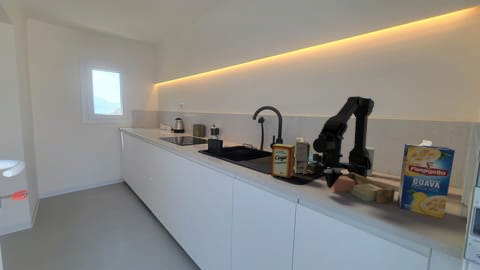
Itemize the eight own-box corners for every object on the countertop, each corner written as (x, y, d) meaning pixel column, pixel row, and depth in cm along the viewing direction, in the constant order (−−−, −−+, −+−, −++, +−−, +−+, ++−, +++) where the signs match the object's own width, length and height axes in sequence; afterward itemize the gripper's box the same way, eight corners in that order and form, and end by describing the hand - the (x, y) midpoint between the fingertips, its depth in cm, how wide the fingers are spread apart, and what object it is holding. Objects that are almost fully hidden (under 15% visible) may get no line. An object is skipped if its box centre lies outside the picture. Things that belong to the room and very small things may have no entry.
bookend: (345, 181, 94) (346, 171, 93) (352, 184, 89) (354, 174, 89) (330, 181, 92) (331, 171, 92) (337, 185, 88) (338, 174, 87)
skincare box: (371, 174, 107) (375, 147, 105) (372, 176, 102) (375, 149, 100) (354, 171, 112) (357, 145, 110) (353, 173, 106) (356, 147, 105)
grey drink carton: (307, 175, 101) (310, 144, 99) (295, 173, 102) (297, 143, 101) (305, 170, 110) (307, 142, 108) (294, 169, 111) (295, 141, 109)
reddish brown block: (345, 185, 87) (346, 176, 87) (354, 191, 81) (355, 181, 81) (326, 185, 86) (327, 176, 86) (333, 191, 81) (334, 180, 80)
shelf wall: (351, 182, 92) (352, 172, 92) (393, 202, 72) (394, 189, 71) (339, 182, 91) (339, 172, 90) (378, 203, 71) (379, 190, 70)
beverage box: (397, 201, 73) (404, 143, 70) (437, 210, 67) (447, 147, 65) (399, 208, 67) (408, 146, 65) (444, 218, 61) (455, 150, 59)
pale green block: (369, 192, 80) (370, 183, 80) (384, 200, 74) (385, 190, 73) (351, 193, 78) (352, 184, 78) (364, 201, 72) (365, 191, 71)
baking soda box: (270, 175, 99) (272, 144, 97) (275, 172, 104) (277, 142, 102) (289, 179, 94) (291, 146, 92) (293, 175, 99) (295, 144, 97)
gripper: (339, 147, 88) (336, 180, 90) (301, 147, 85) (299, 181, 87) (358, 152, 77) (354, 189, 79) (316, 152, 74) (313, 191, 76)
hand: (329, 187), depth 81 cm, fingers closed
